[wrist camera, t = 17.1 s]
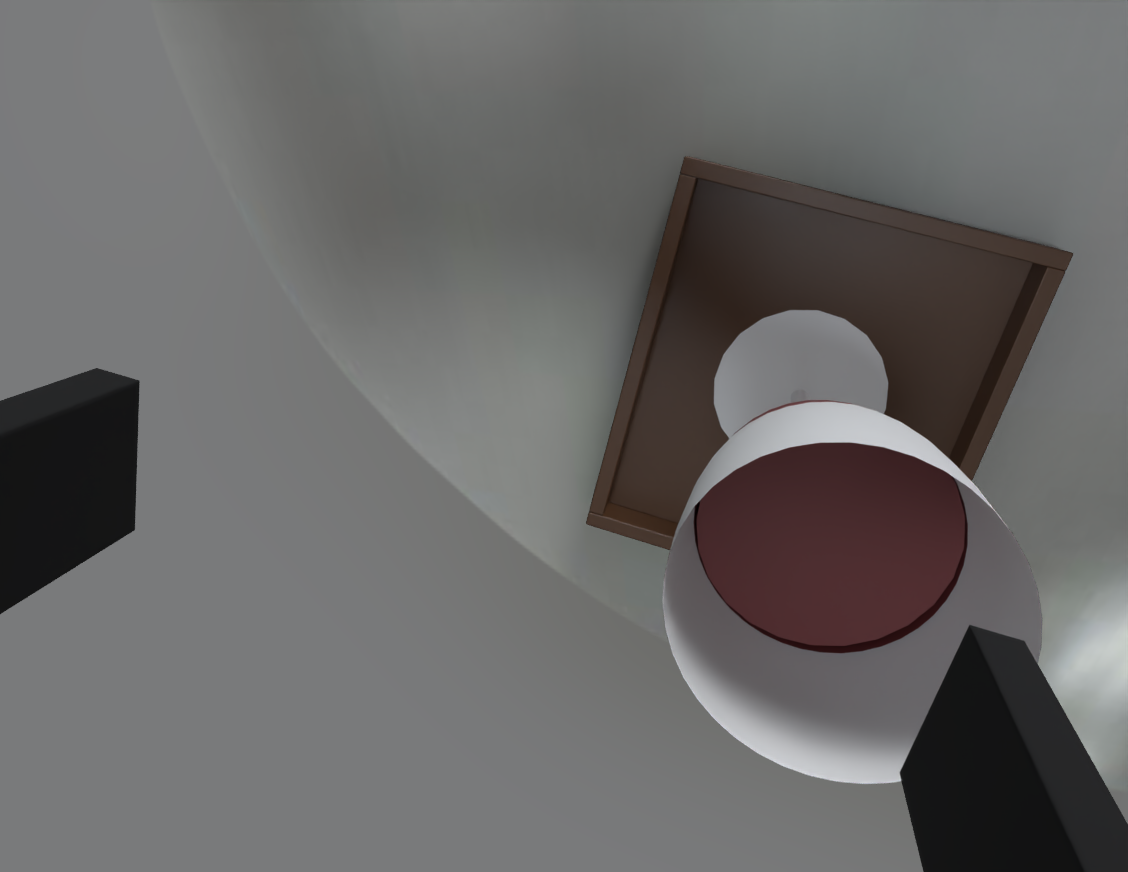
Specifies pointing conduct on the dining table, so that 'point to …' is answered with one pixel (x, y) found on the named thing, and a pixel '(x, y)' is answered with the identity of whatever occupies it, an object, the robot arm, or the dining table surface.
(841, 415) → the wineglass
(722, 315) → the tray
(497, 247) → the dining table surface
